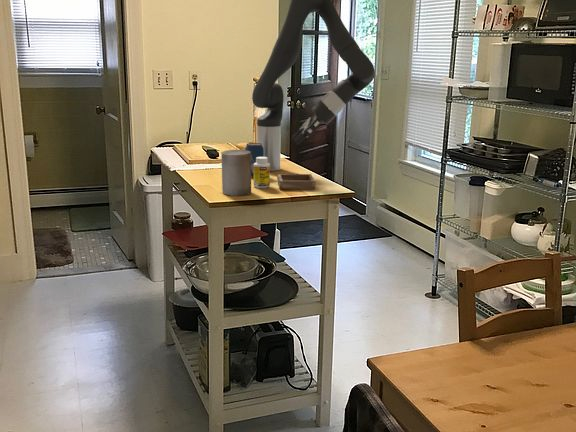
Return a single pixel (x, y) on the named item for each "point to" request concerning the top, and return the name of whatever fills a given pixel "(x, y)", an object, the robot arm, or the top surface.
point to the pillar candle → (236, 172)
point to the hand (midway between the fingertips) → (294, 141)
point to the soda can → (254, 153)
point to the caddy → (296, 182)
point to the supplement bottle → (261, 173)
